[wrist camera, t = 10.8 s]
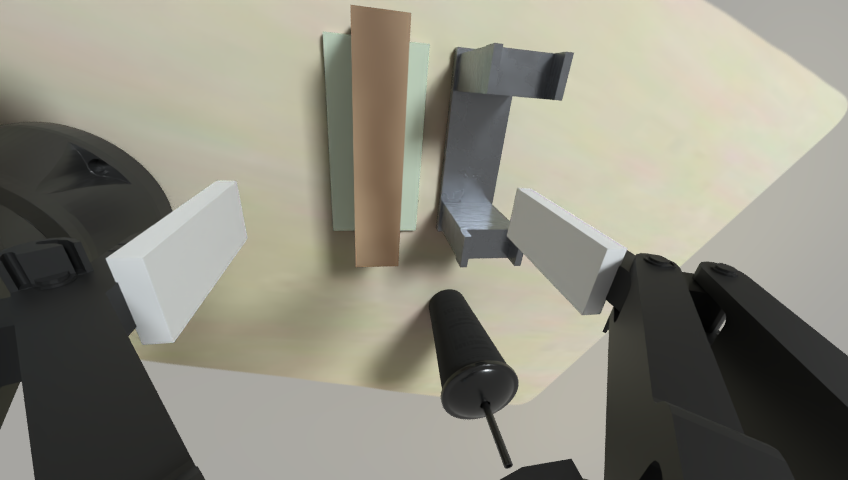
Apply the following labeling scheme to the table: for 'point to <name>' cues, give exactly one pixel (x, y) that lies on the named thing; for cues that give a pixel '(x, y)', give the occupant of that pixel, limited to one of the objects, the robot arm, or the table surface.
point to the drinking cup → (470, 365)
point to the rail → (378, 130)
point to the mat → (342, 129)
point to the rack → (487, 141)
